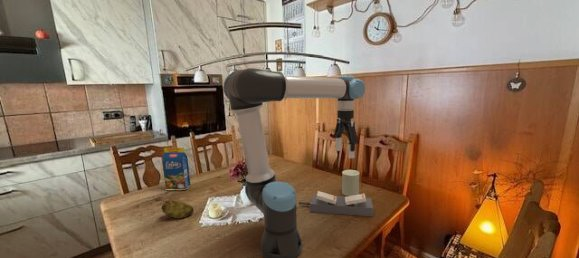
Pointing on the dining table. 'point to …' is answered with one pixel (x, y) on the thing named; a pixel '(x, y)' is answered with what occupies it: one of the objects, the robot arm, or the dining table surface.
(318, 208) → the rocker switch panel
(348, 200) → the small box
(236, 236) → the dining table surface
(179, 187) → the blue food package
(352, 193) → the can
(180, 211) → the olive green oval lump
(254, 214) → the dining table surface
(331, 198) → the block
